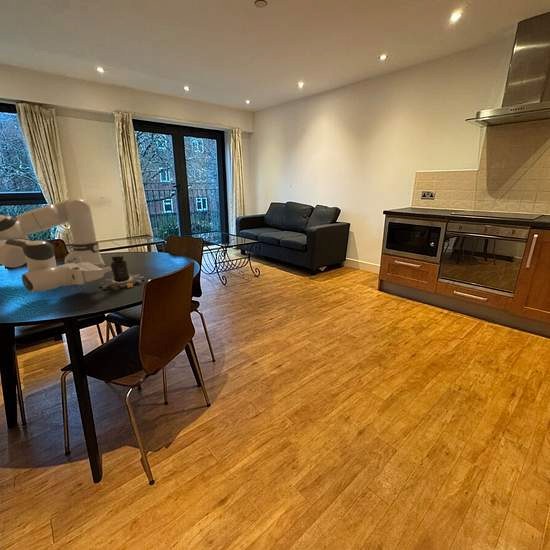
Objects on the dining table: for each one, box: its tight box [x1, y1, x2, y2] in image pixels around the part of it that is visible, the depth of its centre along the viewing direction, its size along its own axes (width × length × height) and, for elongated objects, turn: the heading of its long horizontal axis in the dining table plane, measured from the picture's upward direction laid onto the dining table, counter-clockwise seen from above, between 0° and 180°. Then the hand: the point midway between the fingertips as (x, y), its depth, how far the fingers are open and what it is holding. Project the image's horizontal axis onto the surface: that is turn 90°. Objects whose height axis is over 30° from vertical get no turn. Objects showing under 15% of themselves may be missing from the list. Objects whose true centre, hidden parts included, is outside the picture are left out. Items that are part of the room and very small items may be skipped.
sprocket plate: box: [99, 273, 145, 291], centre depth 143 cm, size 19×19×2 cm
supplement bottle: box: [110, 254, 130, 282], centre depth 141 cm, size 7×7×12 cm
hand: (107, 266), depth 136 cm, fingers open, 8 cm apart
